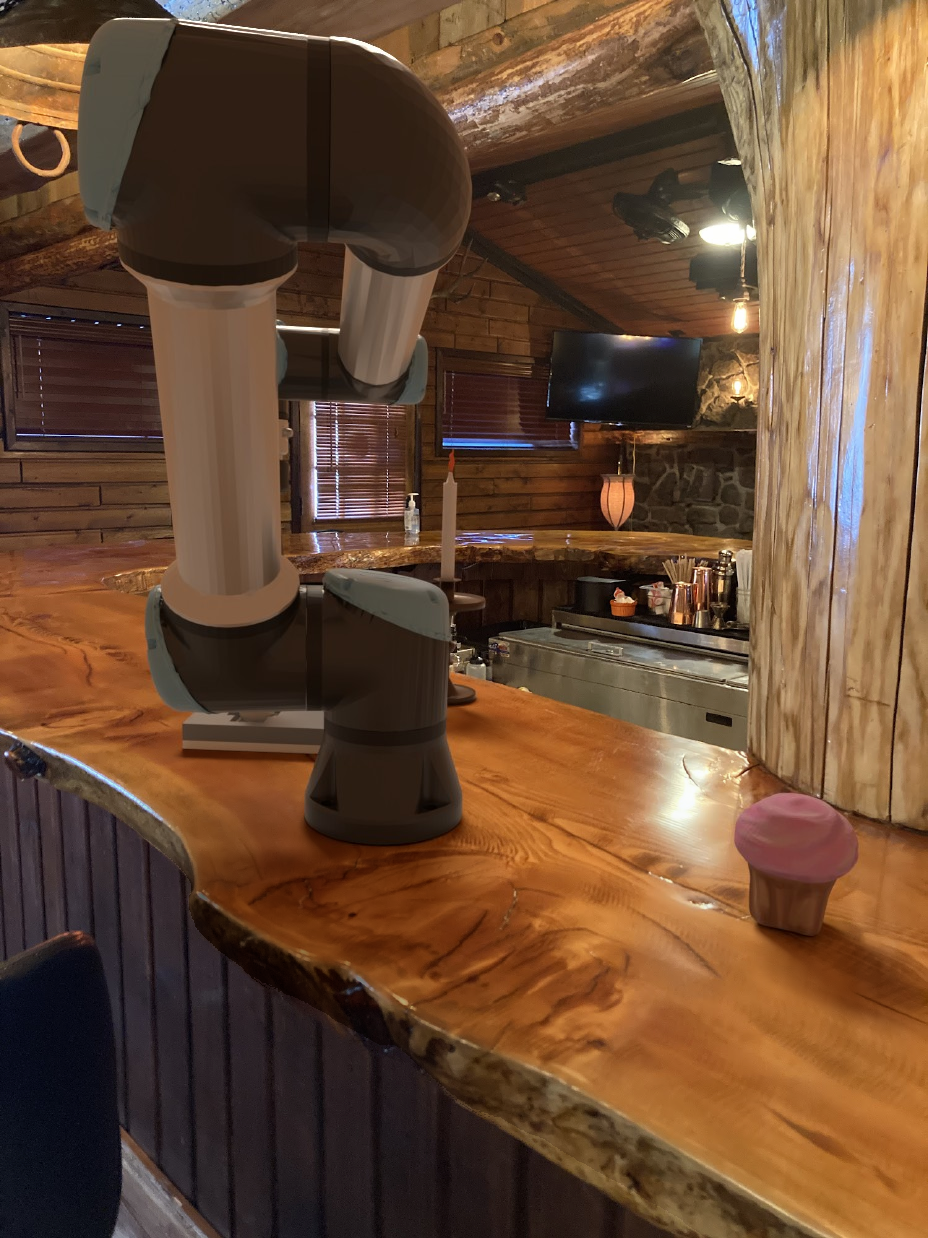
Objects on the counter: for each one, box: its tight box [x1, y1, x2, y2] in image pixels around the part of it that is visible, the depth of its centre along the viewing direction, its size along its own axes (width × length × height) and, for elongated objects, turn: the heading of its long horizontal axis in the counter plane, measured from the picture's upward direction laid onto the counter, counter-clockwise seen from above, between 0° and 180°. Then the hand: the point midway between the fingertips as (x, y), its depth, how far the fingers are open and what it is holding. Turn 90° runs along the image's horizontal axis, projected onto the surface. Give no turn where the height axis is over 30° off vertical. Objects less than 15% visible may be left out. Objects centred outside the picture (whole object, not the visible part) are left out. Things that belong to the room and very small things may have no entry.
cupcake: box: [733, 792, 859, 937], centre depth 70 cm, size 9×9×10 cm
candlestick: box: [433, 449, 486, 707], centre depth 129 cm, size 11×11×35 cm
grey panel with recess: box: [181, 711, 324, 755], centre depth 112 cm, size 14×26×8 cm, turn 89°
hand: (257, 637), depth 110 cm, fingers open, 13 cm apart
